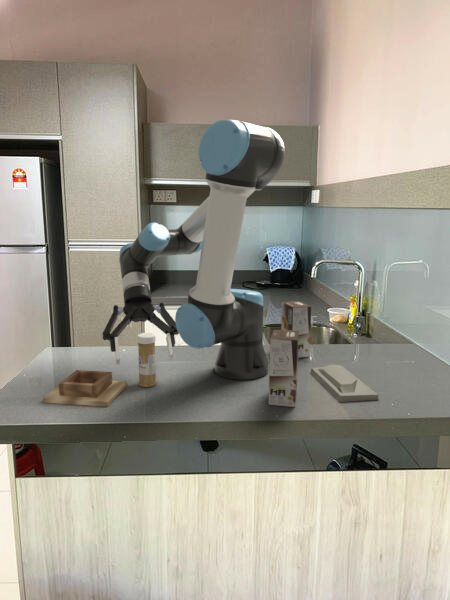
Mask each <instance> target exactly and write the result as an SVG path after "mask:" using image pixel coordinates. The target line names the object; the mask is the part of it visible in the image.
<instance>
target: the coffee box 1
mask: <svg viewBox="0 0 450 600" xmlns="http://www.w3.org/2000/svg"><path fill="white" fill-rule="evenodd" d="M311 316H312V306H311V305H309V304H307V303H304V302H302V301H300V300H293V301H292V300H291V301H290V300H289V301H282V302H281V324H280V325H281V326H280V327H281V328H280V330H296V331H299V348H298V359H300V358H309V357H310V349H311V348H310V347H311V346H310V344H311V323H312V322H311V320H312V319H311V318H312V317H311Z"/></svg>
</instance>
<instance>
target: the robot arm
mask: <svg viewBox="0 0 450 600" xmlns="http://www.w3.org/2000/svg"><path fill="white" fill-rule="evenodd" d="M197 155H198V160H199V161H200V166H201V168H202V169H203V170H204V171H205V172H206V173H205V178H204V180H205V181H206V184H207V185H208V186H209V188H210V191H209V196H208V197H206V199H205V200H204V201H202V203H201V204H200V205H199V206H198V207H197V208H196V209H195V210H194V211H193V212H192V213H191V214H190V215H189V217H188V218H187V219H185V221H184V222H183V223H181V225H180V226H179V227H178V228H176V229H167V227H166V226H165V225H163V224H161V223H160V224H159V223H158V222H150V223H148V224H147V225H146V226H145V227H144V228H143V229H142V230H141V231H140V232H139V234H138V236H137V237H136V239H135V240H134V242H129V243H127V244H125V245H122V246H121V248H120V250H119V258H118V259H119V261H118V262H119V265H120V273H121V274H120V275H121V284H122V293H123V303H124V304H123V305H124V306H118V305H117V304H114V305H113V309H112V310H113V311H112V314H111V316H110V318H109V320H108V322H107V323H106V325H105V328H104V330H103V331H102V340H104V341H109V345H110V351H111V353H113V352H114V353H115V362H116V365H120V361H121V359H120V348H119V347H120V346H119V339H118V338H119V336H120V335H121V333H123V331H124V330H125V329H126V328H127V326H128V325H130V324H131V323H132V322H134V323H140V322H141V323H143V322H146V321H149V323H151V324H153V325H154V326H155V327H157V328H158V330H161V332H163V334H165V335H166V337H165V340H166V347H167V352H168V353H167V354H168V359H169V361H171V360H173V357H174V350H173V347H176V338H175V336H177V335H179V336H180V339H182V341H183V342H184V343H185V344H186V345H187V346H189V347H191V348H193V349H195V350H196V349H197V350H198V349H199V350H200V349H205V348H212V347H213V346H215V345H218V344H220V346H219V349H218V352H217V355H216V358H215V362H214V371H215V373H216V374H217V375H218V376H220V377H222V378H226V379H230V380H239V381H240V380H255V379H259V378H263V377H265V376H266V375H267V374H268V373H269V361H268V358H267V355H266V352H265V348H264V344H263V342H264V341H263V338H264V337H263V335H264V308H265V305H264V295H263V294H262V293H261V292H259V291H257V290H256V291H255V290H249V289H242V288H241V289H238V288H232V282H233V277H234V271H235V265H236V261H237V256H238V255H237V254H238V250H239V245H240V244H239V242H240V238H241V234H242V233H241V232H242V227H243V226H242V225H243V221H244V214H245V212H246V211H245V209H246V204H247V199H248V198H249V197H250V196H251V195H252V194H253V193H254V192H255V191H262V190H263V189H265V187H267V186H268V184H270V183H271V182H272V181H273V180H274V178H275V177H276V176H277V175H278V174H279V172H280V171H281V169H282V167H283V164H284V162H285V158H286V149H285V144H284V141H283V139H282V138H281V136H280V135H279V134H278V133H277V132H276V131H275V130H274V129H272V128H270V127H267V126H265V125H264V126H263V125H257V124H253V123H249V122H246V121H242V120H238V119H220V120H217V121H215V122H214V123H212V124H211V126H209V127H207V128H206V130H205V131H204V133H203V134H202V136H201V139H200V142H199V146H198V153H197ZM199 252H200V258H199V263H198V270H197V277H196V283H195V285H194V286H193V287H191V288H190V289H189V291H188V295H187V301H186V303H183V304H181V305H180V306H179V307H178V308H177V310H176V313H175V316H174V318H175V319H173V317H172V316H171V314H170V313H169V312H168V311H167V309H166V306H165V304H164V302H160V303H159V304H156V305H154V303H153V302H152V301H153V300H152V292H151V286H150V280H149V273H148V269H149V267H150V266H151V265H152V263H153V262H154V261H155V260H156V259H157V258H158V257H170V256H181V255H192V254H197V253H199ZM155 311H156V312H157V314H160V316H161V318H162V319H163V320H164V321H163V320H162V319H160V318H159V317H158V316H157V315H156V313H155ZM122 313H123V314H124V315H125V316H124V317H123V319H122V320H121V321H120V322H119V323H118V325H117V326H116V327H114V325H115V324H116V322H117V320H118V317H119V316H120V315H121V314H122ZM146 323H147V322H146ZM113 327H114V329H113ZM112 330H113V331H112Z"/></svg>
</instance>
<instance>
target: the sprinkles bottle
mask: <svg viewBox="0 0 450 600" xmlns="http://www.w3.org/2000/svg"><path fill="white" fill-rule="evenodd" d="M136 343H137V346H138V376H139V378H138V379H139V380H138V386H139V387H142V388H151V387H154V386H156V384H157V379H156V377H157V376H156V375H157V373H156V372H157V365H156V364H157V360H156V334H155V333H152V332H141V333H139V334H137V342H136Z"/></svg>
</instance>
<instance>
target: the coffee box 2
mask: <svg viewBox="0 0 450 600" xmlns="http://www.w3.org/2000/svg"><path fill="white" fill-rule="evenodd" d="M269 340H270V341H269V342H270V344H269V369H268V373H269V376H268V378H269V379H268V405H270V406H278V407H279V406H280V407H289V408H294V407H295V406H296V400H297V394H298V373H299V372H298V371H299V358H298V348H299V331H296V330H281V329H273V330H272V334H271V336H270V339H269Z"/></svg>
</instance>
